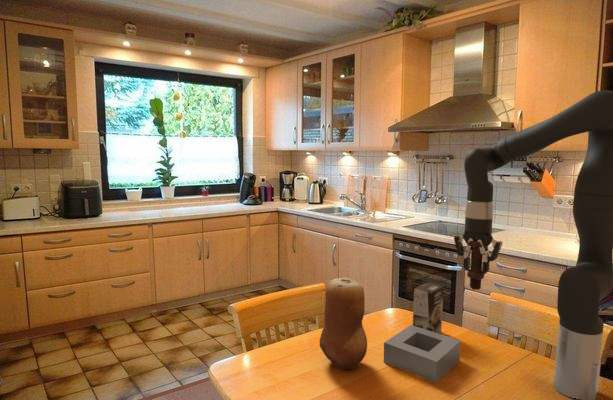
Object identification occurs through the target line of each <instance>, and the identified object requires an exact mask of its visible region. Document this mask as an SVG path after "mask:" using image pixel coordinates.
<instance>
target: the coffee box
mask: <svg viewBox="0 0 613 400" xmlns="http://www.w3.org/2000/svg"><path fill="white" fill-rule="evenodd" d="M443 301H444V285H440V284H436V283H430V282H425V283H423V284H421V285H419V286H416V287H415V288H414V292H413V314H412V325H413V326H416V327H419V328H422V329H425V330H429V331H432V332H435V333H438V334H441V332H442V327H443V326H442V325H443V324H442V323H443V303H444V302H443Z"/></svg>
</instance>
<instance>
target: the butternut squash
mask: <svg viewBox="0 0 613 400" xmlns="http://www.w3.org/2000/svg"><path fill="white" fill-rule="evenodd" d="M364 289H365V288H364V287H363V286H362V284H361V283H360V282H358V281H357V280H355V279H353V278H350V277H340V278H339V277H338V278H334V279H331V280H330V281H329V282H328V283H327V285H326V288H325V296H324V297H325V299H324V314H323V315H324V317H323V319H324V320H323V322H324V323H323V328H322V330H321V334H320V338H319V347H320V349H321V351H322V352H323V355H325V357H326V359H328V361H330V362H331V363H332V364H333V365H335V366H336V367H337V368H339V369H342V370H350V369H354V368H356V367H357V366H359V364H361V363H362V361H363V360H364V358H365V356H366V355H367V351H368V338H367V335H366V331H365V329H364V326H363V319H364V316H365V306H366V305H365V302H366V300H365V290H364Z"/></svg>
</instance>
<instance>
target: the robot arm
mask: <svg viewBox="0 0 613 400" xmlns="http://www.w3.org/2000/svg"><path fill="white" fill-rule="evenodd" d="M584 133H587V137H588V138H587V148H586V154H585V157H584V160H583V162H582V164H581V167H580V170H579V171H578V175H577V178H576V182H575V185H574V190H573V191H574V193H573V199H572V200H573V201H572V215H573V221H574V224H575V228H576V230H577V234H578V239H579V244H578V245H579V246H578V247H579V248H578V255H577V256H578V257H577V260H576V264H575V265H574V266H571V267H569V268H567V269H565V270H564V271H563V272H562V273H561V274H560V276H559V281H558V284H557V286H558V287H557V301H556V302H557V304H556V306H557V307H556V309H557V314H558V318H559V321H558V322H559V323H558V334H557V335H558V336H557V345H556V355H555V366H554V376H553V387H554V388H555V389H556V390H557V392H559V393H560V394H561V395H564V396H565V397H568V398H570V397H571V399H573V398H576V399H575V400H577V399H581V400H596V398H597V395H598V391H599V382H600V373H601V363H602V358H601V353H602V344H603V343H602V342H603V335H604V326H605V325H604V321H603V319H602V318H601V317H600V316H599V312H600V311H599V310H600V300H602V299H604V298H606V297H607V296H608V295H609V294H610V293H611V291H612V289H613V90H607V89H606V90H605V89H604V90H603V89H602V90H596V91H594V92H593V93H590V94H589V95H587V96H585V97H584V98H582V99H580V100H579V101H577V102H576V103H574V104H572V105H570V106H569V107H567V108H565V109H564V110H562V111H560V112H559V113H557V114H555V115H552V116H551V117H549V118H547V119H545V120H543V121H541V122H537V123H535V124H534V125H531V126H527V127H526V128H524V129H521V130H519V131H517V132H514V133H512V134H510V135H508V136H505V137H503V138H501V139H499V141H497V143H496V144H493V145H491V146H489V147H485V148H483V147H481V148H479V147H478V148H472V149H471V150H469V151H468V152H467V154H466V156H465V157H464V164H463V166H464V167H463V168H464V173H465V179H466V185H467V193H466V195H467V197H466V204H465V211H464V233H463V234H462V235H460V234H458V235H455V236H454V237H453V240H454V244H455V248H456V254H457V255H458V256H460V257H462V258H463V269H464V271H467V272H468V270H470V269H471V254H472V252H471V248H472V246H469V245H467V243H469V241H477V242H481V245H482V247H479V248H480V252H481V255H482V274H484V275H486V274H487V273H488V272H489V271H490V265H491V263H490V262H494V261H495V260H497V258H498V257H499V254H500V252H501V248H502V247H503V241H502V240H499V241H498V240H496V239H494V237H493V236H492V234H493V217H494V204H493V203H494V202H493V201H494V200H493V199H494V185H493V183H492V182H491V181H489V175H488V174H489V172H492V171H496V170H498V169H501V168H502V167H504V166H506V165H508V164H510V163H511V162H516V161H518V160H521V159H524V158H526V157H529V156H531V155H533V154H535V153H538V152H540V151H542V150H544V149H546V148H548V147H550V146H551V145H553V144H555V143H557V142H559V141H562V140H564V139H567V138H570V137H573V136H576V135H580V134H584ZM463 242H465V244H466V246H465V249H464V245H463ZM482 242H484V243H485V247H484V246H483V243H482ZM491 244H492V248H493V250H492V251H491V254H490V250H489V249H490V248H489V247H490V245H491Z"/></svg>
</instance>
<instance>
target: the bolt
mask: <svg viewBox="0 0 613 400" xmlns="http://www.w3.org/2000/svg"><path fill="white" fill-rule="evenodd" d="M482 243H483V246H484V247H485V243H484V242H482ZM467 245H469V246H472V248H471V254H470V270H468V271H467V273H466V275H467V277H468V278H469V287H470V289H472V290H473V291H475V290H477V291H479V290H481V287H482V280H483V279H484V277H485V274H482V266H483V257H482V255H481V252H480V248H479V247H482V245H481V242H477V241H469V243H466V246H467Z"/></svg>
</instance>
